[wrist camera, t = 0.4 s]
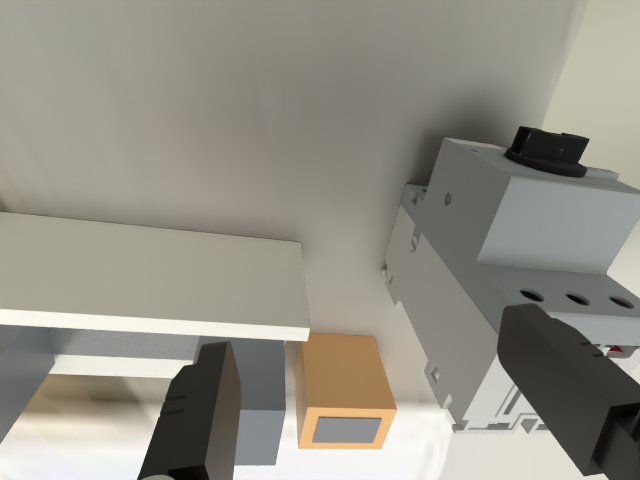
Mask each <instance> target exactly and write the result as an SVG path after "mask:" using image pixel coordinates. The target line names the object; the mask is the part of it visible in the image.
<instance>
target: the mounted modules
mask: <svg viewBox="0 0 640 480" xmlns="http://www.w3.org/2000/svg"><path fill="white" fill-rule="evenodd" d="M222 341H230V342H231V344H232V347H233V352H234V356H235V360H236V365H237V369H238V373H239V378H240V383H241V409H240V418H239V427H238V436H237V445H236V454H235V463H234V465H275V464H276V458H277V453H278V448H279V443H280V438H281V433H282V427H283V422H284V417H285V412H286V402H285V355H284V340H274V339H256V338H238V337H220V336H202V335H200V338H199V341H198V345H197V349H196V353H195V357H194V361H193V364H196V363H197V360H198V356H199V353H200V349H201V346H202V345H203V344H206V343H214V342H222ZM54 364H55V359H54V354H53V350H52V345H51V341H50V337H49V332H48V328H47V327H40V326H22V325H4V324H0V443H1V442H2V441H3V439H4V438H5V436H6V435H7V433H8V432H9V430H10V429H11V427H12V426H13V424H14V423H15V422H16V420H17V419H18V417H19V416H20V414H21V413H22V411H23V410H24V408H25V407H26V405H27V404H28V402H29V401H30V400H31V398H32V397H33V395H34V394H35V392H36V391H37V389H38V388H39V386H40V385H41V383H42V382H43V381H44V379H45V378H46V376H47V375H48V373H49V372H50V370H51V369H52V367H53V366H54Z"/></svg>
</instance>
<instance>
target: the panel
mask: <svg viewBox="0 0 640 480" xmlns="http://www.w3.org/2000/svg"><path fill="white" fill-rule="evenodd" d="M0 324H4V325H22V326H40V327H58V328H76V329H94V330H112V331H130V332H148V333H166V334H184V335H202V336H220V337H238V338H256V339H274V340H284V347H285V341H286V340H292V341H308V336H309V332H310V322H309V313H308V304H307V295H306V286H305V277H304V268H303V260H302V251H301V242H293V241H283V240H274V239H264V238H254V237H244V236H234V235H224V234H215V233H205V232H195V231H185V230H175V229H166V228H156V227H146V226H136V225H126V224H116V223H107V222H97V221H87V220H77V219H67V218H57V217H48V216H38V215H28V214H18V213H8V212H0ZM54 359H55V364H54V366H53V367H52V369H51V370H50V372H49V374H76V375H104V376H132V377H159V378H174V377H175V376H176V375H177V373H178V372H179V371H180V370H181V368H182V367H183V366H184V365H192V364H193V361H192V360H170V359H147V358H125V357H102V356H79V355H57V354H54Z"/></svg>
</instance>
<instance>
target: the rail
mask: <svg viewBox="0 0 640 480" xmlns="http://www.w3.org/2000/svg"><path fill="white" fill-rule="evenodd" d="M47 328H48V332H49V337H50V341H51V345H52V350H53V354H57V355H79V356H102V357H125V358H147V359H170V360H192V361H194V357H195V353H196V349H197V345H198V341H199V338H200V335H184V334H166V333H148V332H130V331H112V330H94V329H76V328H58V327H47Z"/></svg>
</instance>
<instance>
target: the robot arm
mask: <svg viewBox="0 0 640 480" xmlns="http://www.w3.org/2000/svg"><path fill="white" fill-rule="evenodd" d="M497 354H498V358H499V361H500V364H501V365H502V367H503V369H504V370H505V371H506V373H507V374H508V375H509V377H510V378H511V379H512V381H513V382H514V383H515V385H516V386H517V387H518V389H519V390H520V392H521V393H522V394H523V396H524V397H525V398H526V400H527V401H528V402H529V404H530V405H531V406H532V408H533V409H534V410H535V412H536V413H537V414H538V416H539V417H540V418H541V420H542V421H543V422H544V424H545V425H546V426H547V428H548V429H549V430H550V432H551V433H552V434H553V436H554V437H555V438H556V440H557V441H558V442H559V444H560V445H561V446H562V448H563V449H564V450H565V452H566V453H567V454H568V456H569V457H570V458H571V460H572V461H573V462H574V464H575V465H576V466H577V468H578V469H579V470H580V472H581V473H582V474H583V476H589V475H596V474H602V473H604V474H605V475H606V477H607V478H608V479H609V480H640V385H639V384H638V383H637V382H636V381H635V380H634V379H633V378H632V377H630V376H629V375H628V374H627V373H626V372H625V371H624V370H622V369H621V368H620V367H619V366H618V365H617V364H616V363H614V362H613V361H612V360H611V359H610V358H609V357H608V356H604V353H603V352H602V351H601V350H600V349H598V348H597V347H596V346H595V345H592V344H591V341H589V340H588V339H587V338H586V337H585V336H584V335H583V334H581V333H580V332H579V331H578V330H577V329H576V328H574V327H572V326H570V325H568V324H566V323H564V322H563V321H561V320H559V319H557V318H551V317H550V316H549V315H548V314H547V313H546V312H545V311H544V310H542V309H541V308H540V307H539V306H538V305H537V304H535V303H526V304H519V305H511V306H506V307H505V308H504V310H503V313H502V319H501V325H500V331H499V337H498V342H497ZM240 409H241V383H240V378H239V373H238V369H237V365H236V360H235V356H234V352H233V347H232V344H231V342H230V341H222V342H214V343H206V344H203V345H202V346H201V349H200V353H199V356H198V360H197V363H196V364H192V365H184V366H183V367H182V368H181V370H180V371H179V372H178V373H177V375H176V376H175V377H174V378H173V380H172V381H171V383H170V386H169V389H168V392H167V395H166V398H165V402H164V404H163V406H162V409H161V412H160V417H159V418H158V421H157V424H156V427H155V430H154V433H153V436H152V439H151V441H150V444H149V447H148V450H147V453H146V456H145V459H144V462H143V465H142V468H141V471H140V474H139V476H138V478H137V480H233V472H234V463H235V454H236V445H237V436H238V427H239V418H240Z"/></svg>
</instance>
